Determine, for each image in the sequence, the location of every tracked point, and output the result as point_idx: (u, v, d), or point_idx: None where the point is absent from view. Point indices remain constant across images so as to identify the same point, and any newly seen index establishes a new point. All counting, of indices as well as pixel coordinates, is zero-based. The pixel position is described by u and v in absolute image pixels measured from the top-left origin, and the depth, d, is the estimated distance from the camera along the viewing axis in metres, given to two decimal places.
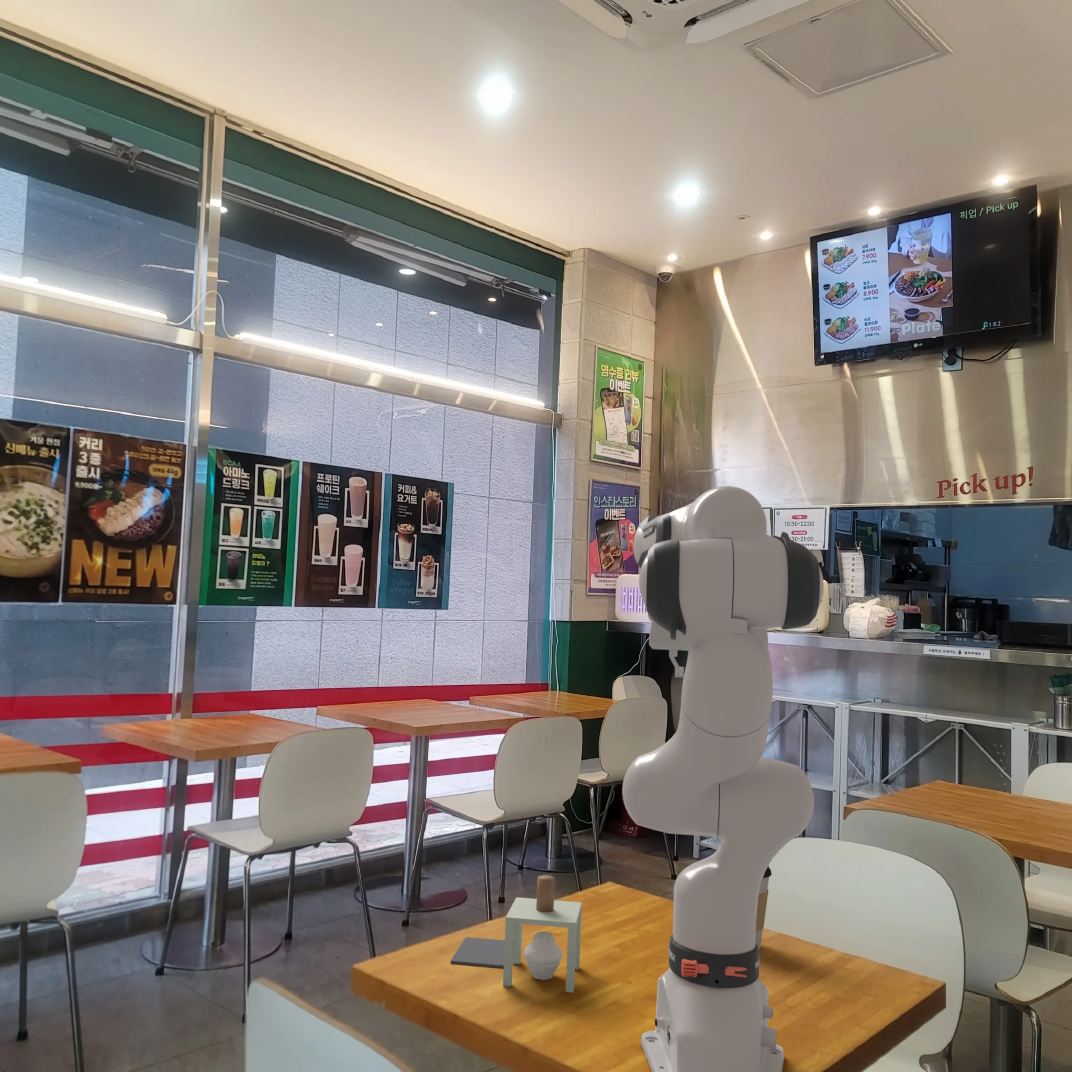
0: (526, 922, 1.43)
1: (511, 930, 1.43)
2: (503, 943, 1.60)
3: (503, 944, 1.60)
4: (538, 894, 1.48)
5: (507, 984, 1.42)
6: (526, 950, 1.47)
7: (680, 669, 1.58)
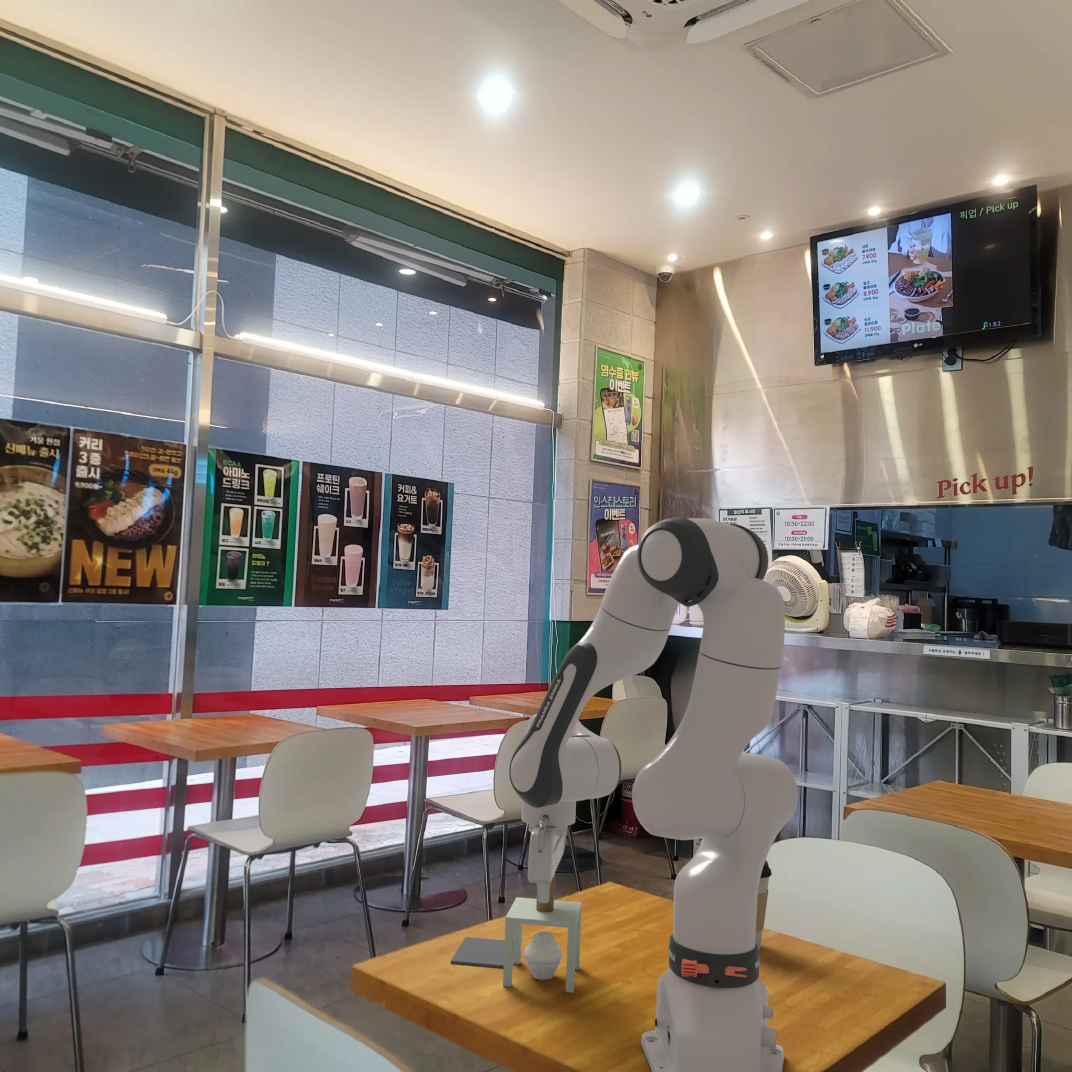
0: (526, 922, 1.43)
1: (511, 930, 1.43)
2: (503, 943, 1.60)
3: (503, 944, 1.60)
4: None
5: (507, 984, 1.42)
6: (526, 950, 1.47)
7: (549, 893, 1.47)
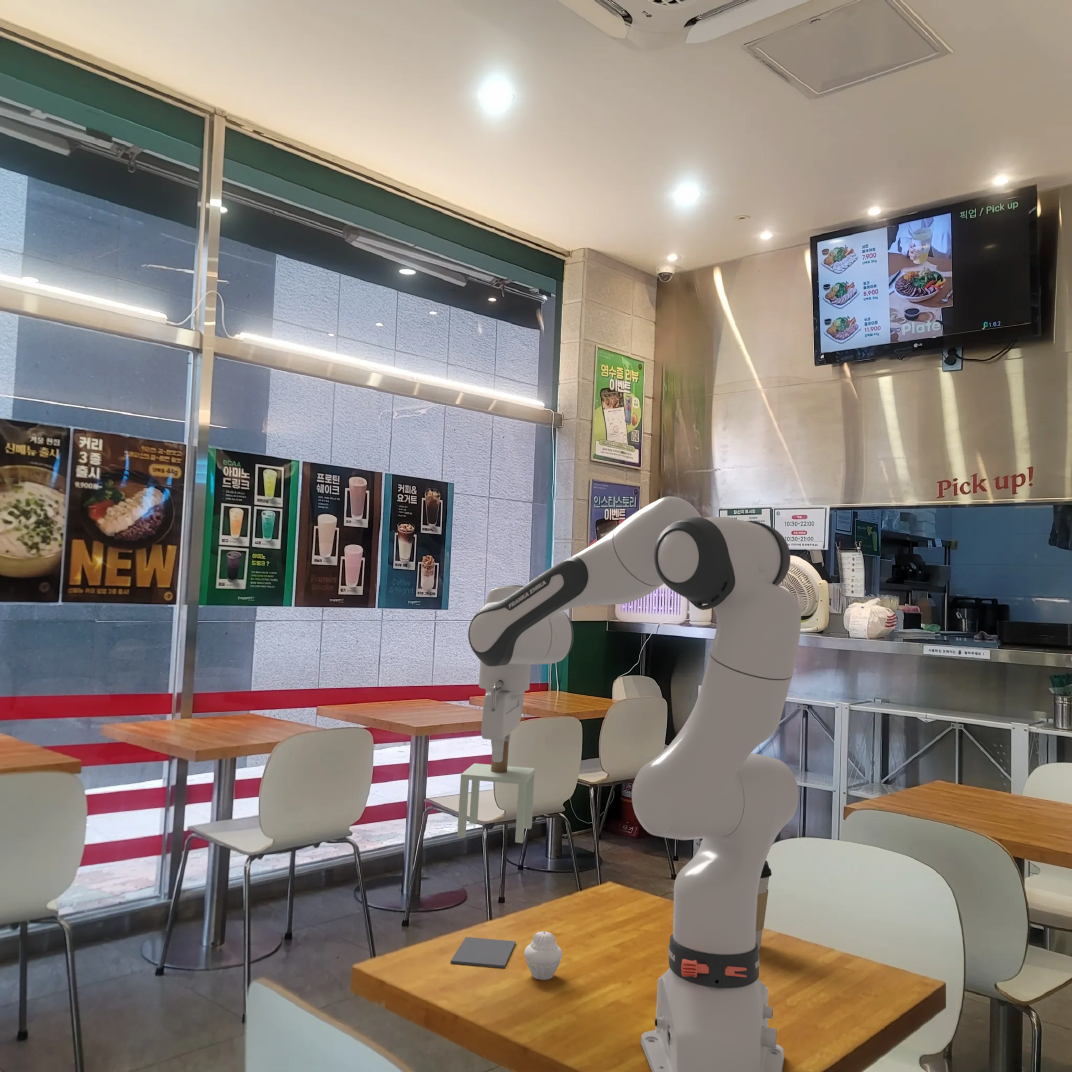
0: (480, 779, 1.53)
1: (466, 786, 1.53)
2: (503, 943, 1.60)
3: (503, 944, 1.60)
4: None
5: (461, 835, 1.53)
6: (526, 950, 1.47)
7: (503, 753, 1.57)
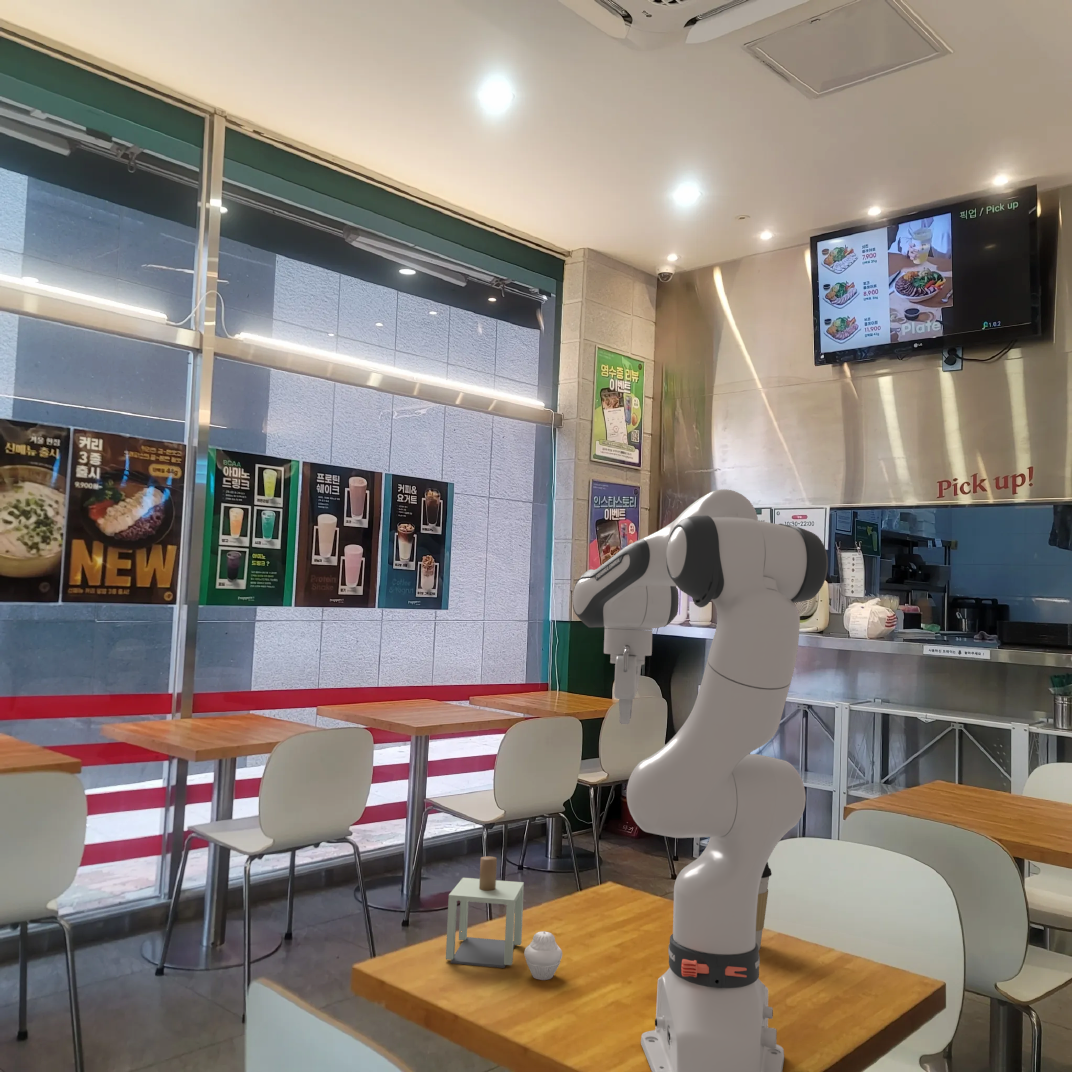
0: (467, 899, 1.52)
1: (454, 907, 1.53)
2: (503, 943, 1.60)
3: (503, 944, 1.60)
4: (481, 874, 1.57)
5: (449, 957, 1.52)
6: (526, 950, 1.47)
7: None
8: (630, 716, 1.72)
